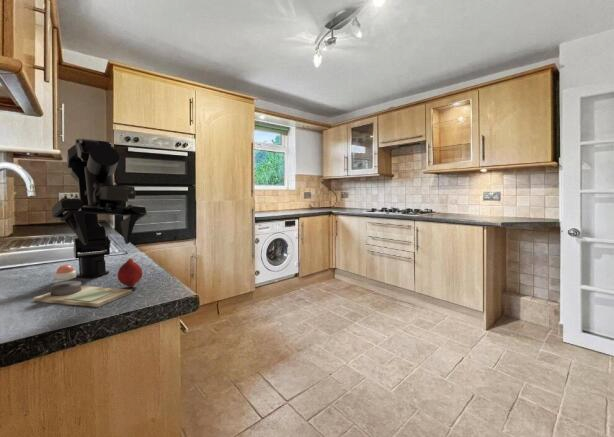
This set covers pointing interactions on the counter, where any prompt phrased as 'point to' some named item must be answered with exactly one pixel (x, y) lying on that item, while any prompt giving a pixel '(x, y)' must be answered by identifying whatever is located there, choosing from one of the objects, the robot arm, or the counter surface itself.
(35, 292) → the counter surface
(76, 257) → the robot arm
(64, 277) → the button
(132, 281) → the onion
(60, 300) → the board
